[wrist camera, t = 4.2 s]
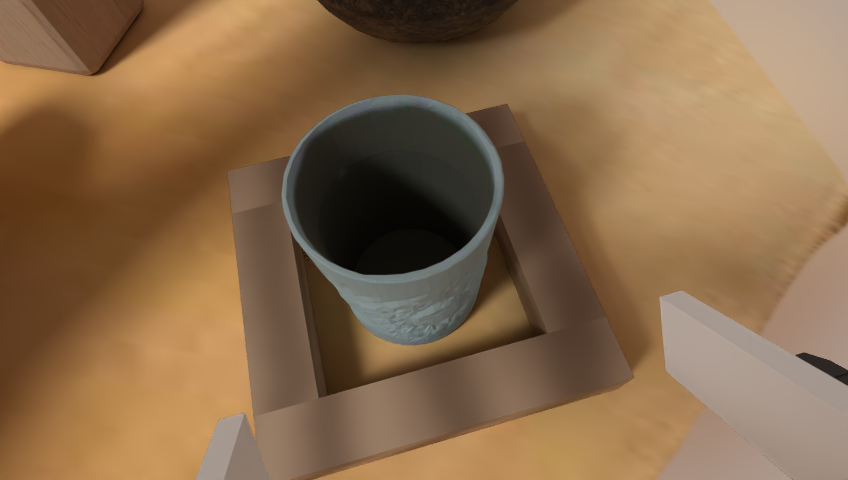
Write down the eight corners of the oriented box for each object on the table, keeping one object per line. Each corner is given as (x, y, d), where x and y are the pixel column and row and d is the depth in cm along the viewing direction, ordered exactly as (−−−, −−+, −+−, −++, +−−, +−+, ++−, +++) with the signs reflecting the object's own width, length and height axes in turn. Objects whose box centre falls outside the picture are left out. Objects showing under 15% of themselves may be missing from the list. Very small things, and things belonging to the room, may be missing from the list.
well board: (279, 489, 28) (261, 487, 25) (243, 195, 37) (227, 171, 34) (617, 388, 29) (634, 377, 27) (503, 131, 39) (507, 103, 36)
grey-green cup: (458, 381, 30) (464, 313, 19) (307, 327, 32) (236, 239, 21) (505, 238, 34) (530, 119, 24) (368, 198, 36) (335, 72, 26)
